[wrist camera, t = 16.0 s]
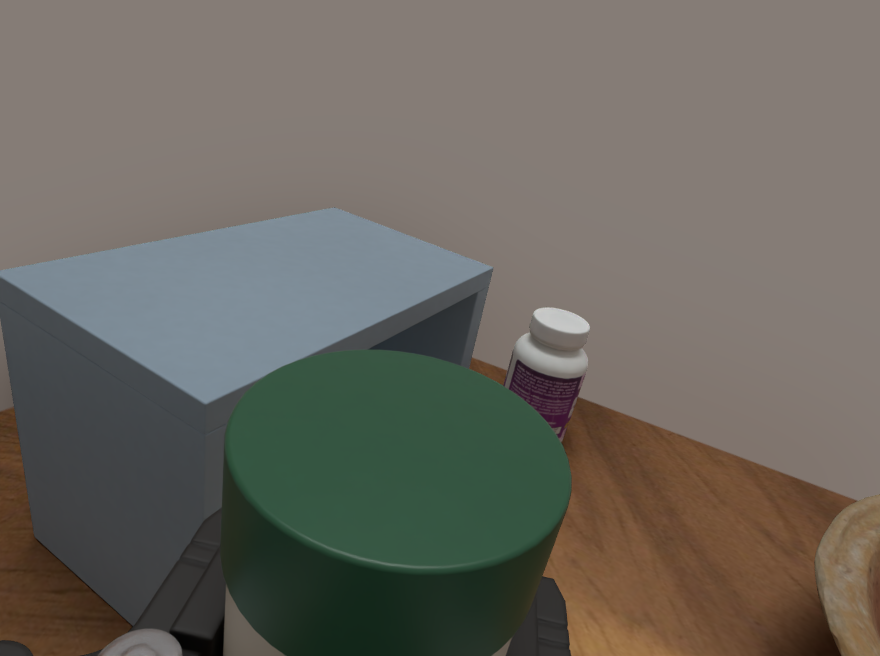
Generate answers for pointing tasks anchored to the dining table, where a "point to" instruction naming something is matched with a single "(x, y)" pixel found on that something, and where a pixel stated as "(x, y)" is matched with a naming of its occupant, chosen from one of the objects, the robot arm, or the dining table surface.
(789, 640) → the dining table surface
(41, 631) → the dining table surface
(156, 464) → the shelf
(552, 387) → the pill bottle
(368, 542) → the spice bottle
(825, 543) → the bowl
